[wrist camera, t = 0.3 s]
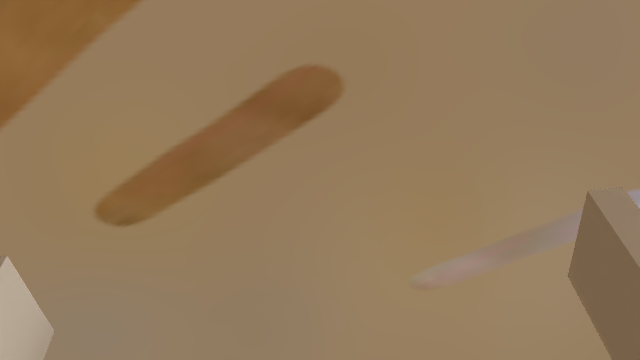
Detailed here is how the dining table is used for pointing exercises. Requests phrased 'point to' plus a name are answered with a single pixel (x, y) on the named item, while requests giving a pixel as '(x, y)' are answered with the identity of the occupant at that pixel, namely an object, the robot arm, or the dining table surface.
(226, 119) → the dining table surface
